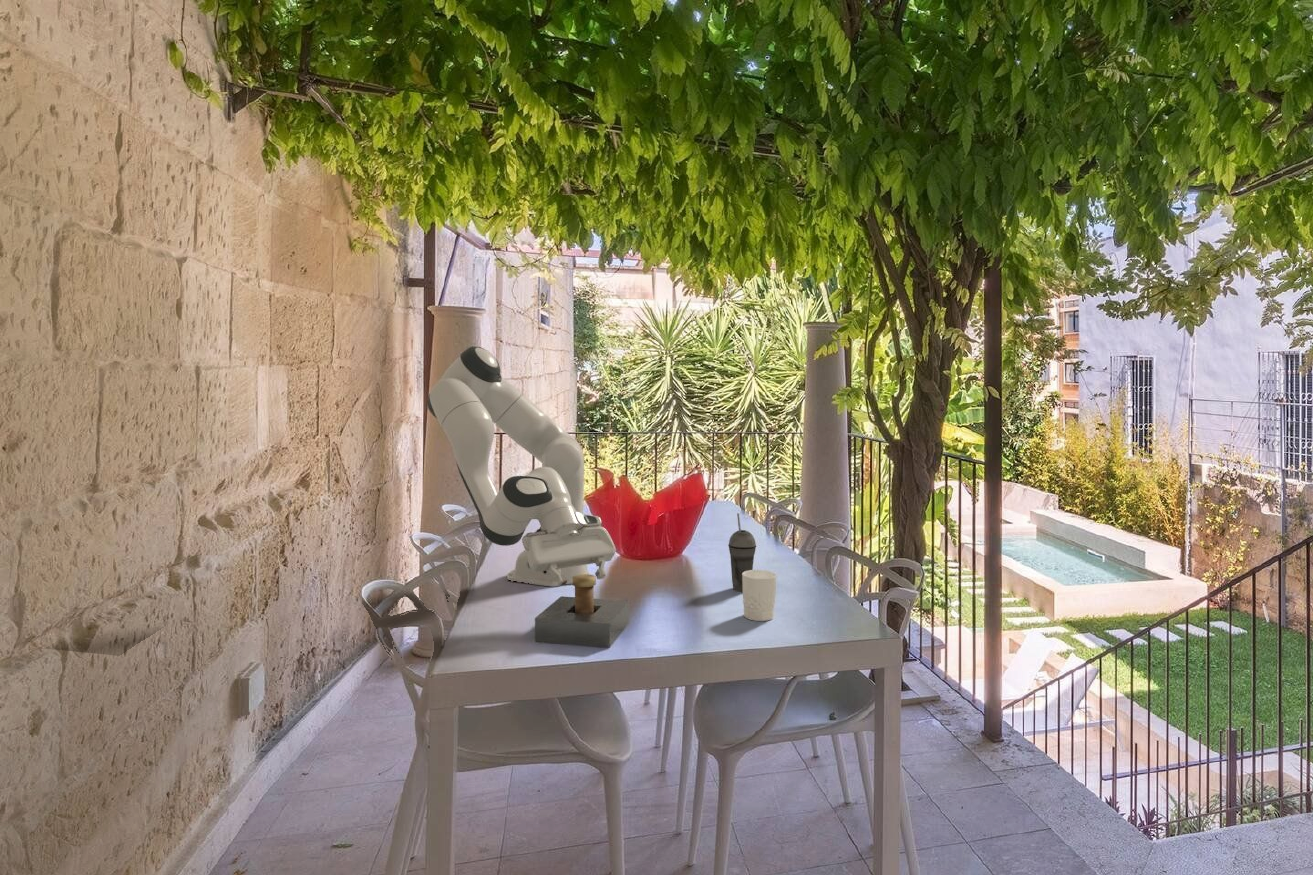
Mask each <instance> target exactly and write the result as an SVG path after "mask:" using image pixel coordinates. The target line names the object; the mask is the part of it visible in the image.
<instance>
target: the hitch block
mask: <svg viewBox="0 0 1313 875" xmlns="http://www.w3.org/2000/svg"><path fill="white" fill-rule="evenodd" d="M629 624H630V601H629V600H619V599H608V598H607V599H605V598H604V599H603V598H594V614H580V613H575V596H560V597H558V598H557V599H555V601H553V602H552V603H551V604H550V605H549V606H547V607H546V609H544V610H543V611H542V612H541V613H539V614H538V615H537V616H535V617H534V642H536V643H546V644H557V645H558V644H560V645H568V646H569V645H570V646H582V647H596V648H603V649H604V648H606V649H611V647H612V646H613V645H614V643H615V642H616V640H617V639H618V638H619V637H620V635H621V634H622V633H623V631H624V630H625V629H626V628H627V626H628V625H629Z"/></svg>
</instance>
